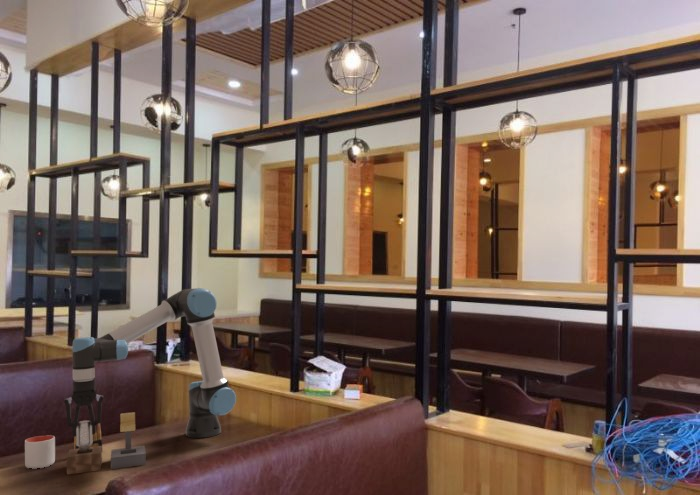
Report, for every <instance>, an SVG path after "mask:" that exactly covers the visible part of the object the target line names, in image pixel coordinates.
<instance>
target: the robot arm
mask: <svg viewBox="0 0 700 495" xmlns="http://www.w3.org/2000/svg"><path fill="white" fill-rule="evenodd" d="M216 308H217V299H216V296H215V294H214V293H213V292H211V291H210V290H208V289H206V288H200V287H197V288H185V289H182V290H180V291H178V292H176V293H174V294H173V295H171V296H169V297H168V298H165V299H164V300H162V301H161V304H160V305H158V306H156V307H154V308H152V309H151V310H148V311H147V312H145V313H142V314H141V315H139V316H138V317H136V318H134V319H132V320H130V321H128V322H127V323H125V324H122V325H121V326H119V327H117V328H115V329H114V330H112V331H110V332H108V333H106V334H104V335H103V336H101V337H97V338H94V337H93V336H87V337H85V336H84V337H75V338H74V339H73V341H72V347H71V349H72V350H71V353H72V354H71V355H72V380H73V381H72V394H71V396H70V397H68V398H65V399H64V400H63V402H64V405H65V409H66V423H67V427H69V428H72V435H73V438H74V437H75V436H76V444H77V446H79V427H78V422H79V418H80V416H79V415H80V411H81V407H83V406H86V407H87V409H88V414H89V418H90V424H91V425H90V444H92V443H93V434H95V433H97V425H98V423H100V424H101V422H102V402H103V399H104V395H101V394H97V392H96V380H95V379H94V378H96V368H95V367H96V363H99V362H108V361H109V362H111V361H121V360H125V359H126V358H127V357H128V354H129V345H128V344H130V343H131V342H134V341H135V340H137V339H138V338H141V337H142V336H144V335H145V334H147V333H149V332H151V331H153V330H155V329H156V328H158V327H160V326H162V325H164V324H166V323H168V322H169V321H172V322H173V321H176V320H178V319H180V318H183V317H185V320H186V323H187V325H188V326H190V327H191V330H192V331H191V332H192V334H193V335H192V336H193V339H194V344H195V345H194V346H195V349H196V354H197V359H198V364H199V367H200V373H201V377H202V380H200V381H199V380H198V381H193V382H191V383H189V384H188V405H189V406H188V408H189V409H188V410H189V418H188V421H187V425H186V428H185V436H186V437H187V436H188V438H191V439H192V438H194V439H197V438H198V439H200V438H209V437H214V436H217V435H220V434H221V433H222V428H221V423H220V421H219V418H218V416H225V415H227V414H229V413H230V412H231V411H232V410H233V408H234V407H235V405H236V402H237V396H236V392H235V391H234V390H233V389H232V388H230V384H229V380H228V378H227V377H226V376H224V373H223V369H222V363H221V358H220V353H219V349H218V343H217V339H216V334H215V329H214V325H213V321H214V320H215V318H216V316H215V311H216ZM95 399H96V401H97V414H96V415H97V417H96V418H95V412H94V409H93V404H92V403H93V401H94V400H95ZM72 401H73V402H74V403H75V404H76V406H75V407H76V409H75V413H74V419H73V422H72V409H71V408H72V407H71V404H72Z"/></svg>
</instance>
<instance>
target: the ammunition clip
mask: <svg viewBox="0 0 700 495" xmlns="http://www.w3.org/2000/svg"><path fill="white" fill-rule="evenodd" d="M90 425H92V423H90ZM73 438H74V439H73V449H78V448H79V446H77V444H76V436H75V437H74V436H73ZM95 446H102V447H103V440H102V430H101V422H100V423H98V424H97V425H96V433H95V434H93V443H92V444H91V447H95Z"/></svg>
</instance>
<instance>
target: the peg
mask: <svg viewBox="0 0 700 495" xmlns="http://www.w3.org/2000/svg"><path fill="white" fill-rule="evenodd" d="M90 424H91V420H80V421H78V422H77V426H78V427H79V454H81V453H90V452H91V444H90Z"/></svg>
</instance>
